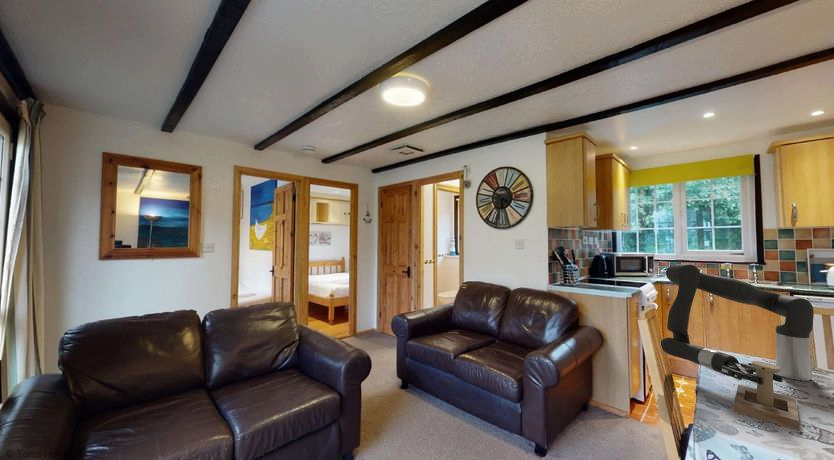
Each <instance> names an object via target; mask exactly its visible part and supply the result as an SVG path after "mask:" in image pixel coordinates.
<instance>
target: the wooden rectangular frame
mask: <svg viewBox="0 0 834 460" xmlns="http://www.w3.org/2000/svg"><path fill="white" fill-rule="evenodd" d="M734 397H735V398H734V401H733V413H737V414H740V415H744V416H747V417H750V418H754V419H757V420H761V421H764V422H767V423H770V424H774V425H778V426H781V427H786V428H789V429H792V430H795V431H800V417H799V412H798V404H797V399H796V398H795V397H793V396H788V395H784V394H781V393H776V392H774V401H773V405H772V407H768V406H764V405H761V404H758V401H757V387H752V386H748V385H743V384H739V383H738V384H737V388H736V393H735V396H734ZM748 400H749V401H748ZM774 407H775V408H774Z"/></svg>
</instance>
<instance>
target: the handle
mask: <svg viewBox="0 0 834 460" xmlns="http://www.w3.org/2000/svg"><path fill="white" fill-rule="evenodd" d="M751 363H752V366H753V367H754V368H756V369H757V370H758V377H761V378H763V380H764V384H762V385H760V384H757V383H756V389H757V401H758V402H757V404H761V405H764V406H768V407H772V408H773V406H772V405H773V401H774V393H775V390H774V380H773V373H775V374H777V373H778V372H780V367H778V366H776V364H773V363H772V364H771V363H767V362H764V361H760V360H752V361H751Z"/></svg>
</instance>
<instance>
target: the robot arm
mask: <svg viewBox="0 0 834 460" xmlns="http://www.w3.org/2000/svg"><path fill="white" fill-rule="evenodd" d="M665 275H666V278H667V279H668V280H669V281H670V282H671V283H673V284H675V285H677V286H678V289H677V295H676V297H675V299H674V300H673V303H672V305H671V306H670V308H669V310H668V315H667V322H666V323H667V324H666V328H667V330H668V332H671V333H672V337H665V338H662V339H661V340H660V342H661V346H662V349H663V350H662V349H661V350H662V351H663V352H664V353H666V354H667V355H669V356H672V357H676V358H678V359H679V358H680V359H682V360H683V359H684V360H687V361H689V362H692V363H694V364H696V365H700V366H702V367H704V368H706V369H709V370H710V371H713V372H716V373H719V374H722V375H724V376H727V377H731V378H733V379H736V380H738V381H742V380H744V381H750V382H752V383H755V384H756V385H757V384H760V385H762V384H764V380H763V378H761V377H758V370H757V369H756V368H754V367H753V366H752V362H751V363H750V362H748V364H747V363H743V362H741V363H740V362H739V360H738V359H737V357H735V356H733V355H731V354H727V353H724V352H721V351H718V350H714V349H711V348H706V347H703V346H701V345H697V344H692V343H691V341H690V336H689V322H690V314H691V310H692V309H691V308H692V305H693V302H694V299H695V295H696V293H697V289H698V290H701V291H703V292H706V293H708V294H711V295H714V296H716V297H719V298H722V299H726V300H728V301H732V302H736V303H740V304H745V305H748V306H749V305H750V306H755V307H758V308H760V309H764V310H766V311H769V312H771V313H774V314H776V315H778V316H781V317H783V318H785V321H784V324H779V325H776V327H775V366H778V367H780V372H778V373H773V382H774V381H775V382H776V383H777V382H778V383H783V379H784V378H787V379H790V380H794V379H795V381H800V380H801V381H803V382H809V381H810V380H813V371H812V370H813V361H812V359H813V358H812V355H811V353H810V352H811V347H810V346H811V345H810V343H811V340H810V339H811V338H810V336H811V335H810V334H811V332H812V331H813V328H814V315H815V312H814V311H815V310H814V307H813V304H812V303H811V301H809V300H808V299H806V298H803V297H798V296H793V295H789V294H788V295H787V294H782V293H776V292H771V291H767V290H763V289H760V288H759V287H756V286H755V285H753V284H751V283H748V282H745V281H743V280H739V279H736V278H731V277H728V276H722V275H715V274H708V273H704V272H701V271H700V269H699V268H698V267H697V266H696V265H694V264H691V263H677V264H672V265H670V266H669V267H667V268H666V271H665ZM661 346H660V347H661ZM783 377H784V378H783ZM801 381H800V382H801Z"/></svg>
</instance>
